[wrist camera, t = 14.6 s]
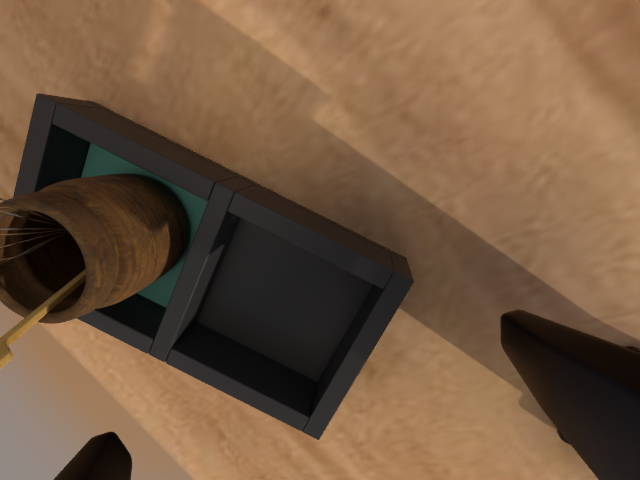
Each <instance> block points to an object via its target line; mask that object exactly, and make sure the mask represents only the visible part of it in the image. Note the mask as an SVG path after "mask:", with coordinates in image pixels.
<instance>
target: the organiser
mask: <svg viewBox="0 0 640 480" xmlns="http://www.w3.org/2000/svg"><path fill="white" fill-rule="evenodd" d="M109 174H137V175H142V176H146V177H149V178H151V179H153V180H155V181H157V182H159V183H161V184H162V185H163V186H165V187H166V188H167V189H168V190H169V191H170V192H171V193H172V194H173V195H174V196H175V197H176V198H177V200H178V201H179V203H180V205H181V206H182V208H183V211H184V213H185V216H186V219H187V224H188V240H187V245H186V248H185V251H184V253H183V255H182V257H181V259H180V260H179V261H178V263H177V264H176V265H175V266H174V267H173V268H172V269H171V270H170V271H168V272H167V273H166V274H165V275H163V276H162V277H160V278H159V279H157V280H156V281H154V282H153V283H151V284H150V285H148V286H146V287H145V288H143V289H142V290H140V291H138V292H137V293H135V294H134V295H132V296H130V297H128V298H126V299H124V300H123V301H120V302H118V303H116V304H113V305H110V306H107V307H103V308H96V309H95V310H93V311H92V312H90V313H88V314H86V315H83V316H81V317H78V318H77V319H79V320H81V321H83V322H85V323H87V324H89V325H91V326H93V327H95V328H97V329H99V330H101V331H103V332H105V333H107V334H109V335H111V336H113V337H115V338H117V339H119V340H121V341H123V342H125V343H127V344H129V345H131V346H133V347H135V348H137V349H139V350H141V351H143V352H145V353H149V355H151V356H153V357H155V358H157V359H159V360H161V361H163V362H165V361H166V363H167V364H169V365H171V366H173V367H175V368H177V369H179V370H181V371H183V372H185V373H187V374H189V375H190V376H192V377H194V378H196V379H198V380H200V381H202V382H204V383H206V384H208V385H210V386H212V387H214V388H216V389H218V390H220V391H222V392H224V393H226V394H228V395H230V396H232V397H234V398H236V399H238V400H240V401H242V402H244V403H246V404H248V405H250V406H252V407H254V408H256V409H258V410H260V411H262V412H264V413H266V414H268V415H270V416H272V417H274V418H276V419H278V420H280V421H282V422H284V423H286V424H288V425H290V426H292V427H294V428H296V429H298V430H300V431H302V432H304V433H306V434H308V435H310V436H311V437H313V438H315V439H317V440H319V439H320V437H321V436H322V434H323V432H324V431H325V429H326V427H327V426H328V424H329V422H330V421H331V419H332V417H333V416H334V414H335V412H336V411H337V409H338V407H339V406H340V404H341V402H342V401H343V399H344V397H345V396H346V394H347V392H348V391H349V389H350V387H351V386H352V384H353V382H354V381H355V379H356V377H357V376H358V374H359V372H360V371H361V369H362V367H363V366H364V364H365V362H366V361H367V359H368V357H369V356H370V354H371V352H372V351H373V349H374V347H375V346H376V344H377V342H378V341H379V339H380V337H381V336H382V334H383V332H384V331H385V329H386V327H387V326H388V324H389V322H390V321H391V319H392V317H393V316H394V314H395V312H396V311H397V309H398V307H399V306H400V304H401V302H402V301H403V299H404V297H405V296H406V294H407V292H408V291H409V289H410V287H411V286H412V284H413V282H414V281H413V278H412V275H411V272H410V269H409V265H408V262H407V259H406V258H405V257H403V256H401V255H399V254H397V253H395V252H393V251H391V250H389V249H387V248H385V247H383V246H381V245H379V244H377V243H375V242H373V241H371V240H369V239H367V238H365V237H363V236H361V235H359V234H357V233H355V232H353V231H351V230H349V229H347V228H345V227H343V226H341V225H339V224H337V223H335V222H333V221H331V220H329V219H327V218H325V217H323V216H321V215H319V214H317V213H315V212H313V211H311V210H309V209H307V208H305V207H303V206H301V205H299V204H297V203H295V202H293V201H291V200H289V199H287V198H285V197H283V196H281V195H279V194H277V193H275V192H273V191H271V190H269V189H267V188H265V187H263V186H261V185H259V184H257V183H255V182H253V181H251V180H249V179H247V178H245V177H243V176H241V175H239V174H237V173H235V172H233V171H231V170H229V169H227V168H225V167H223V166H221V165H219V164H217V163H215V162H213V161H211V160H209V159H207V158H205V157H203V156H201V155H199V154H197V153H195V152H193V151H191V150H189V149H187V148H185V147H183V146H181V145H179V144H177V143H175V142H173V141H171V140H169V139H167V138H165V137H163V136H161V135H159V134H157V133H155V132H153V131H151V130H149V129H147V128H145V127H143V126H141V125H139V124H137V123H135V122H133V121H131V120H129V119H127V118H125V117H123V116H121V115H119V114H117V113H115V112H113V111H111V110H109V109H107V108H105V107H103V106H101V105H99V104H97V103H95V102H91V101H84V100H77V99H71V98H64V97H58V96H51V95H45V94H37V95H36V100H35V104H34V108H33V113H32V117H31V121H30V126H29V130H28V135H27V139H26V143H25V148H24V152H23V157H22V161H21V165H20V170H19V174H18V178H17V183H16V187H15V192H14V196H13V198H14V197H17V196H20V195H23V194H27V193H32V192H38V191H40V190H41V189H43V188H45V187H47V186H50V185H52V184H55V183H58V182H61V181H65V180H71V179H76V178H83V177H91V176H100V175H109Z"/></svg>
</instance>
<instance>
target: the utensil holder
mask: <svg viewBox="0 0 640 480" xmlns="http://www.w3.org/2000/svg"><path fill="white" fill-rule="evenodd" d="M0 200H3V201H4V202H2V203H0V301H1V302H2V303H3V304H4V305H6V306H7V307H8V308H9V309H11V310H12V311H14V312H15V313H17V314H19V315H20V316H23V317H24V319H23V320H22V321H21V322H20V323H18V324H17V325H16V326H15V327H14V328H12V329H11V330H10V331H8V332H7V333H6V334H5V335H3V336H2V337H1V338H0V369H1V368H2V367H3V366H4V365H6V363H8V362H9V361H10V360H11V359H12V357H13V354H12V352H11V351H10V349H9V348H8V347H9V345H10V344H12V343H13V342H14V341H15V340H16V339H17V338H19V337H20V336H21V335H22V334H23V333H25V332H26V331H27V330H28V329H29V328H30V327H32V326H33V325H34V324H35V323H36V322H40V323H61V322H66V321H69V320H72V319H75V318H78V317H81V316H83V315H86V314H88V313H90V312H92V311H93V310H95V309H96V308H103V307H107V306H110V305H113V304H116V303H118V302H120V301H123V300H124V299H126V298H128V297H130V296H132V295H134V294H135V293H137V292H138V291H140V290H142V289H143V288H145V287H146V286H148V285H150V284H151V283H153V282H154V281H156V280H157V279H159V278H160V277H162V276H163V275H165V274H166V273H167V272H168V271H170V270H171V269H172V268H173V267H174V266H175V265H176V264H177V263H178V261H179V260H180V259H181V257H182V255H183V253H184V251H185V248H186V245H187V240H188V224H187V219H186V216H185V213H184V211H183V208H182V206H181V205H180V203H179V201H178V200H177V198H176V197H175V196H174V195H173V194H172V193H171V192H170V191H169V190H168V189H167V188H166V187H165V186H163V185H162V184H161V183H159V182H157V181H155V180H153V179H151V178H149V177H146V176H142V175H137V174H109V175H100V176H91V177H83V178H76V179H71V180H65V181H61V182H58V183H55V184H52V185H50V186H47V187H45V188H43V189H41V190H40V191H38V192H32V193H27V194H23V195H20V196H17V197H14V198H12V199H9V200H5V199H1V198H0Z"/></svg>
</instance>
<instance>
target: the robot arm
mask: <svg viewBox="0 0 640 480" xmlns="http://www.w3.org/2000/svg"><path fill="white" fill-rule="evenodd" d="M501 344H502V347H503V349H504V351H505V353H506V354H507V356H508V357H509V359H510V361H511V362H512V364H513V365H514V367H515V368H516V370H517V371H518V373H519V374H520V376H521V377H522V379H523V380H524V382H525V383H526V385H527V387H528V388H529V390H530V391H531V393H532V394H533V396H534V397H535V399H536V400H537V402H538V403H539V405H540V406H541V407H542V409H543V410H544V412H545V413H546V414H547V416H548V417H549V418H550V419H551V421H552V422H553V423H554V424H555V426H556V427H557V432H558V434H559V436H560V437H561V439H562V440H563V441H564V442H566V443H568V444H570V445H571V446H572V447H573V448H574V449H575V451H576V452H577V453H578V454H579V455H580V457H581V458H582V459H583V460H584V462H585V463H586V464H587V465H588V467H589V468H590V469H591V470H592V472H593V473H594V474H595V475H596V477H597V478H598V479H599V480H640V349H638V348H635V347H627V348H625V347H622V346H619V345H617V344H614V343H611V342H608V341H606V340H603V339H600V338H597V337H595V336H592V335H589V334H586V333H583V332H581V331H578V330H575V329H572V328H570V327H567V326H564V325H561V324H559V323H556V322H553V321H550V320H548V319H545V318H542V317H539V316H537V315H534V314H531V313H528V312H525V311H523V310H514V311H511V312H507V313H504V314H503V315H502V316H501ZM131 470H132V459H131V455H130V453H129V452H128V450H127V449H126V447H125V446H124V444H123V443H122V441H121V440H120V439H119V437H118V436H117V434H116V433H114V432H108V433H104V434H101V435H97V436H95V437H93V438H91V439H90V440H89V441H88V442H87V443H86V444H85V446H84V447H83V448H82V449H81V450H80V451H79V452H78V453H77V454H76V455H75V457H74V458H73V459H72V460H71V461H70V462H69V463H68V464H67V465H66V467H65V468H64V469H63V470H62V471H61V472H60V473H59V474H58V476H57V477H55V479H54V480H131Z"/></svg>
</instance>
